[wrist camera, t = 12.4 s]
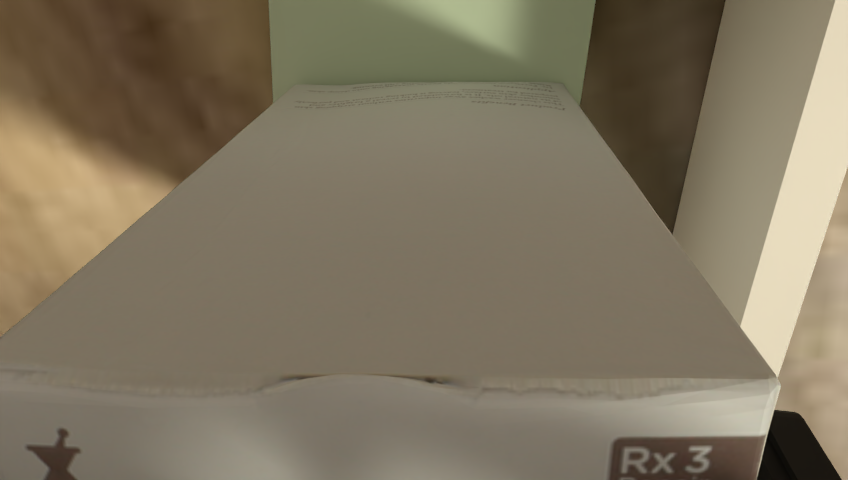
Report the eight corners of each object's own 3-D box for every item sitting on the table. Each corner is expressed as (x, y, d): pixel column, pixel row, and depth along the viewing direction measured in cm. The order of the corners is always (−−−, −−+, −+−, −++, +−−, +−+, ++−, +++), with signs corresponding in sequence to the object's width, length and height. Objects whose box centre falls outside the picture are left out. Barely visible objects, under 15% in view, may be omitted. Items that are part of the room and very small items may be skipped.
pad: (547, 316, 23) (547, 321, 23) (284, 294, 24) (281, 298, 23) (598, -34, 18) (600, -34, 18) (269, -53, 19) (265, -53, 19)
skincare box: (309, 254, 22) (51, 751, 9) (291, 68, 20) (-108, 375, 6) (569, 259, 22) (704, 804, 8) (584, 67, 19) (815, 408, 6)
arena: (672, 389, 24) (728, 526, 18) (191, 346, 25) (109, 466, 19) (795, -95, 17) (936, -101, 12) (137, -130, 18) (-8, -151, 13)
